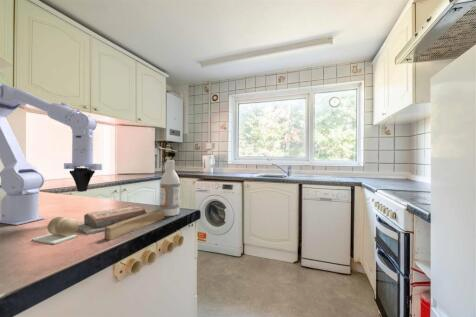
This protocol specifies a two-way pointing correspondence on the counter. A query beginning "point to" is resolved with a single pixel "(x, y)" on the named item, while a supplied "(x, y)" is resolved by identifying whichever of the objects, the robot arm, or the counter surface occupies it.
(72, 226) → the roller
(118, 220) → the packaged product
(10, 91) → the robot arm
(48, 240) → the felt mat
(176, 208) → the bath foam
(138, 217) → the rail
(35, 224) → the counter surface
